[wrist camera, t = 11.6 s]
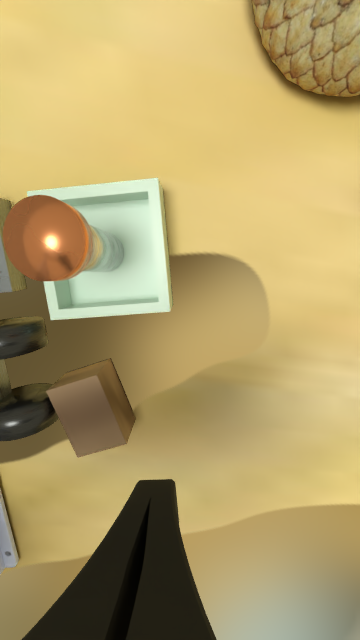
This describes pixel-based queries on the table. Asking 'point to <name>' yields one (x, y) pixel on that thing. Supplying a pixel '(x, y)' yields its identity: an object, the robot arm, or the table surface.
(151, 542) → the robot arm
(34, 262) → the pin
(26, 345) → the cart
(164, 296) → the tray
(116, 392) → the brown rectangular block
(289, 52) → the acorn cap
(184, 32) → the table surface
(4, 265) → the grey square frame
